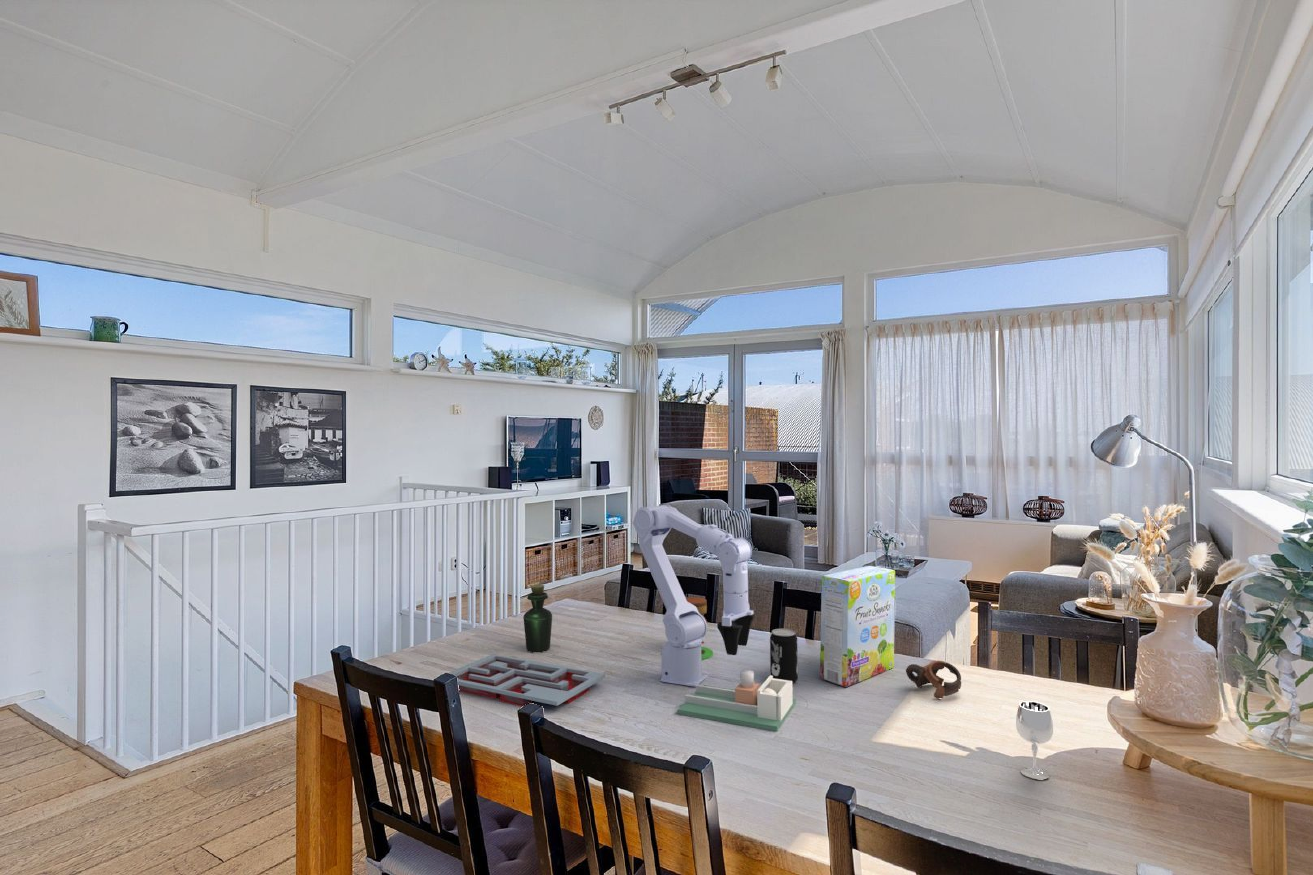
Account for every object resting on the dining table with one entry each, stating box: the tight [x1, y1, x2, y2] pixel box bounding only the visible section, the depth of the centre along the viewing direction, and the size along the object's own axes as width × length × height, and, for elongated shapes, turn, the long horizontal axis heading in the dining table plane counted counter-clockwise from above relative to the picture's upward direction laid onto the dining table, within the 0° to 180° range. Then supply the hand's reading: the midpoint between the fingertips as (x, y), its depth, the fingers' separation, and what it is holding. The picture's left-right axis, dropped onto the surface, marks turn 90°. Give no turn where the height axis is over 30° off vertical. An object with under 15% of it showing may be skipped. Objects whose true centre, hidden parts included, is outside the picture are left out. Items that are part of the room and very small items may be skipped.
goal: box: [757, 674, 794, 721], centre depth 148 cm, size 5×10×6 cm, turn 155°
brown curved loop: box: [905, 660, 962, 699], centre depth 160 cm, size 12×10×8 cm
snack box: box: [819, 565, 896, 688], centre depth 173 cm, size 22×9×26 cm, turn 131°
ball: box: [762, 687, 777, 694], centre depth 149 cm, size 4×4×4 cm
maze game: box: [448, 653, 606, 707], centre depth 166 cm, size 35×20×3 cm, turn 62°
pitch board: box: [677, 684, 797, 732], centre depth 152 cm, size 22×16×2 cm
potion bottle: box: [523, 584, 553, 653], centre depth 195 cm, size 8×8×18 cm
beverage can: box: [769, 628, 799, 685], centre depth 169 cm, size 7×7×12 cm
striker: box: [734, 669, 761, 706], centre depth 151 cm, size 4×5×7 cm
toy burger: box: [685, 596, 714, 661], centre depth 190 cm, size 12×13×15 cm
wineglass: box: [1015, 700, 1054, 775], centre depth 121 cm, size 6×6×12 cm
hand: (737, 649), depth 160 cm, fingers open, 7 cm apart
